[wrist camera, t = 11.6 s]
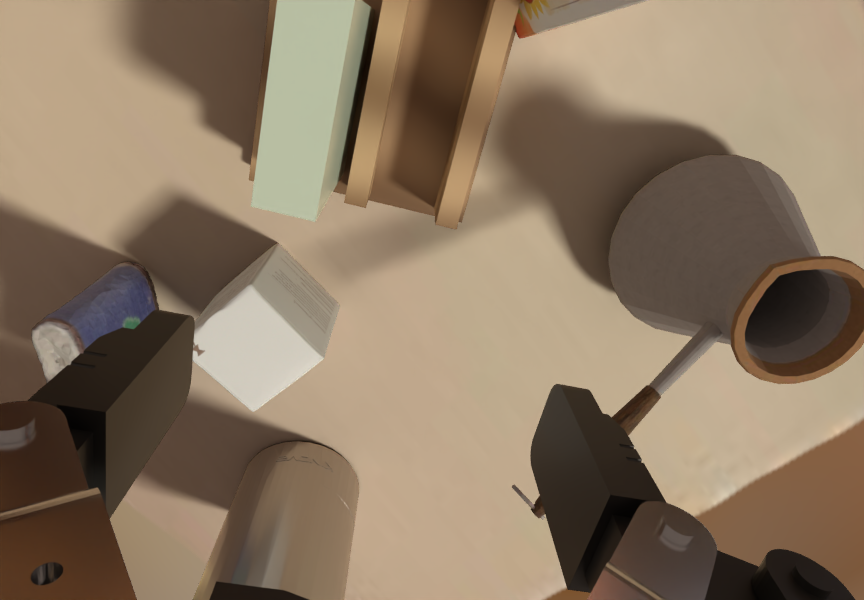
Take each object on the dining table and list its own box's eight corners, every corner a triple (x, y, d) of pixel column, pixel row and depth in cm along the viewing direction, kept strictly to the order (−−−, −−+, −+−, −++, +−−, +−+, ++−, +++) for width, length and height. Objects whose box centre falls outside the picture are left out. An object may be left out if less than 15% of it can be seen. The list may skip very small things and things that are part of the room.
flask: (111, 258, 36) (0, 337, 27) (157, 262, 37) (64, 342, 27) (126, 376, 40) (34, 483, 31) (168, 380, 41) (90, 487, 31)
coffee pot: (726, 106, 33) (938, 150, 20) (799, 249, 37) (1017, 368, 24) (441, 304, 38) (453, 448, 25) (532, 412, 42) (585, 587, 29)
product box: (278, 353, 40) (250, 416, 33) (214, 293, 38) (170, 346, 31) (342, 304, 38) (326, 359, 32) (279, 239, 36) (248, 283, 30)
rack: (460, 217, 36) (465, 240, 32) (256, 168, 34) (234, 185, 30) (523, -6, 31) (539, -13, 26) (286, -76, 29) (264, -95, 25)
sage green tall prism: (375, 10, 30) (355, -5, 21) (343, 173, 33) (315, 222, 24) (323, -6, 29) (280, -27, 20) (296, 161, 33) (250, 206, 24)
